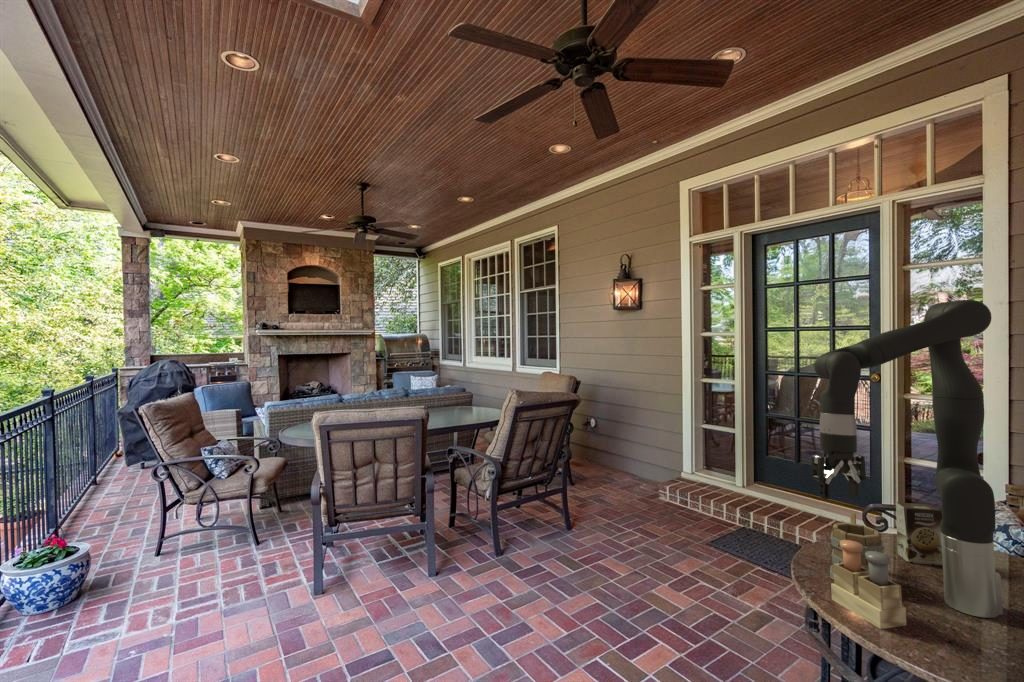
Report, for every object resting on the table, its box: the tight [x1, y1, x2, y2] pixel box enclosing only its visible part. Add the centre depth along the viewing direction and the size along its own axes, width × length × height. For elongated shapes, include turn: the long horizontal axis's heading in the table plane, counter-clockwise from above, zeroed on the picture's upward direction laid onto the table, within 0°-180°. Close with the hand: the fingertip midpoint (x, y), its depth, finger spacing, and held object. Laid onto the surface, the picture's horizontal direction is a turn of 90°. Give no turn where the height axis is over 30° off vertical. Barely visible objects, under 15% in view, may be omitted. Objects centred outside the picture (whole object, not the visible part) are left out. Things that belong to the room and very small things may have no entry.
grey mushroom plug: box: [865, 551, 891, 587], centre depth 108 cm, size 5×5×7 cm
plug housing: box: [830, 563, 907, 630], centre depth 111 cm, size 7×13×9 cm, turn 9°
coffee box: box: [895, 501, 943, 566], centre depth 138 cm, size 9×6×16 cm
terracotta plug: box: [840, 540, 863, 573], centre depth 115 cm, size 5×5×7 cm
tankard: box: [829, 512, 885, 581], centre depth 129 cm, size 20×13×15 cm, turn 143°
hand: (839, 498), depth 113 cm, fingers open, 8 cm apart
